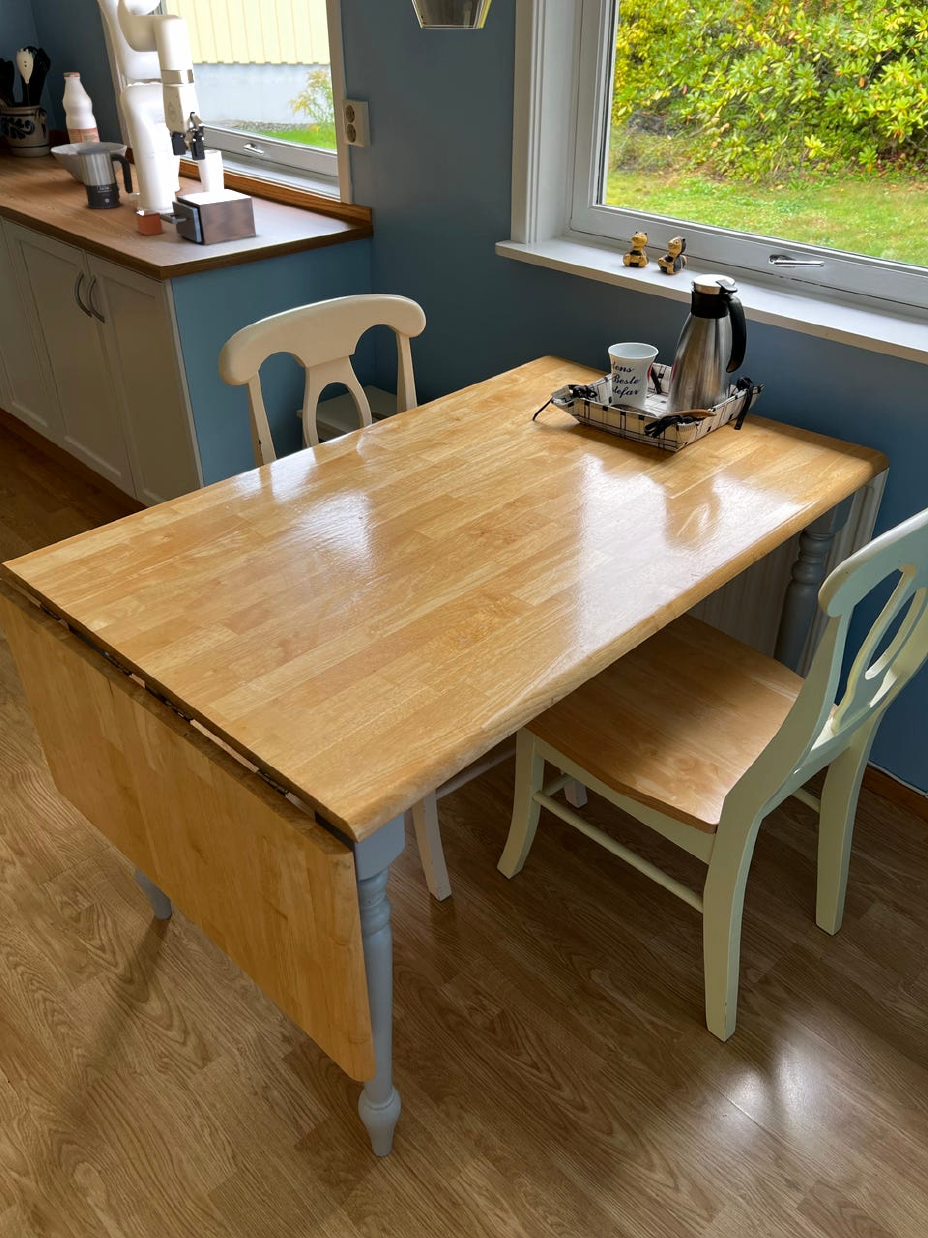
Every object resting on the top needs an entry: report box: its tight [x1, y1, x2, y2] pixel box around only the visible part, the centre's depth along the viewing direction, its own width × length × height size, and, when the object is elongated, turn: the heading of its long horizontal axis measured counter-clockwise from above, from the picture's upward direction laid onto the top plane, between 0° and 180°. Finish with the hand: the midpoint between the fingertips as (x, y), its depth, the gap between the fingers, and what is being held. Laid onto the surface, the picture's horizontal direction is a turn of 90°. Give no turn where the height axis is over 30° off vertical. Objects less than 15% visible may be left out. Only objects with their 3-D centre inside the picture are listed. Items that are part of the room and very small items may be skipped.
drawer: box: [159, 200, 203, 243], centre depth 247 cm, size 18×11×8 cm, turn 130°
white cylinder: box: [196, 149, 225, 193], centre depth 274 cm, size 7×7×15 cm
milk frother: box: [76, 148, 134, 209], centre depth 280 cm, size 14×16×15 cm
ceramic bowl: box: [50, 141, 128, 183], centre depth 307 cm, size 22×23×10 cm
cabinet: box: [176, 189, 257, 246], centre depth 250 cm, size 15×13×10 cm
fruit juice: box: [62, 71, 100, 144], centre depth 324 cm, size 9×9×28 cm
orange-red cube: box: [134, 210, 163, 236], centre depth 254 cm, size 5×5×5 cm
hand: (189, 157), depth 239 cm, fingers open, 9 cm apart
